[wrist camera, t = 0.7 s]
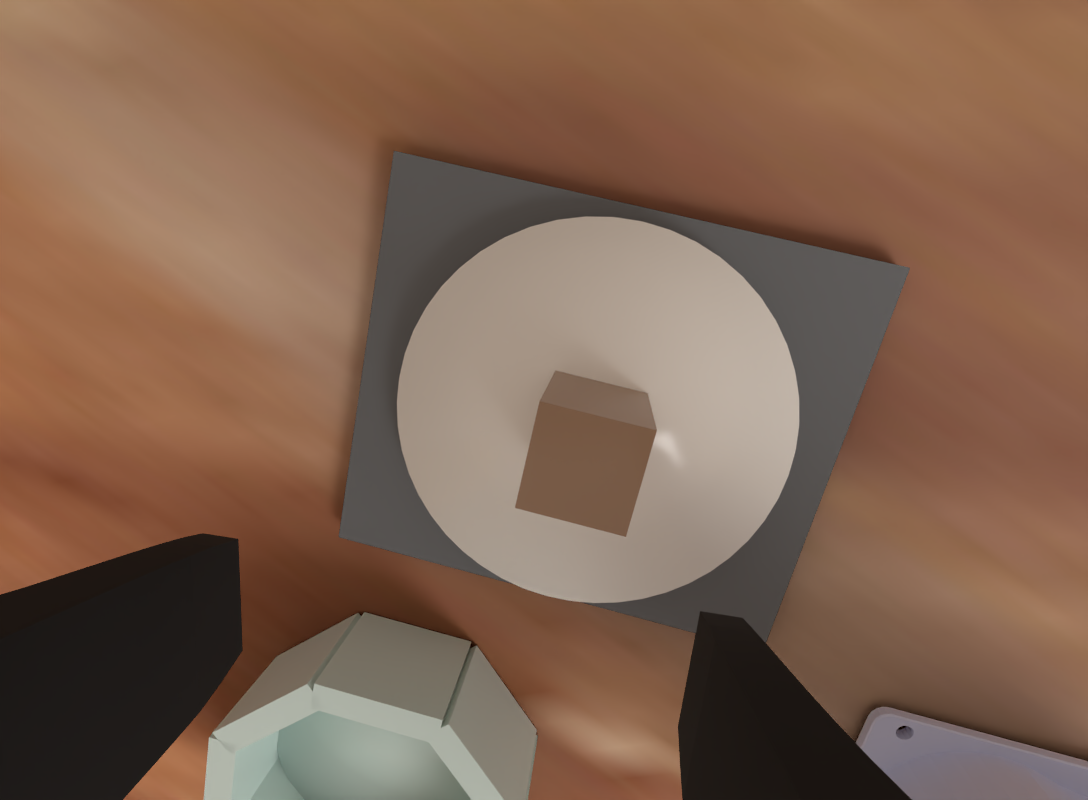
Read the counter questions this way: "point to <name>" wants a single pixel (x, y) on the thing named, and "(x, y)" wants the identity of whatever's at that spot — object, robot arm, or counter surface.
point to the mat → (764, 261)
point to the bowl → (374, 722)
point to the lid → (598, 409)
